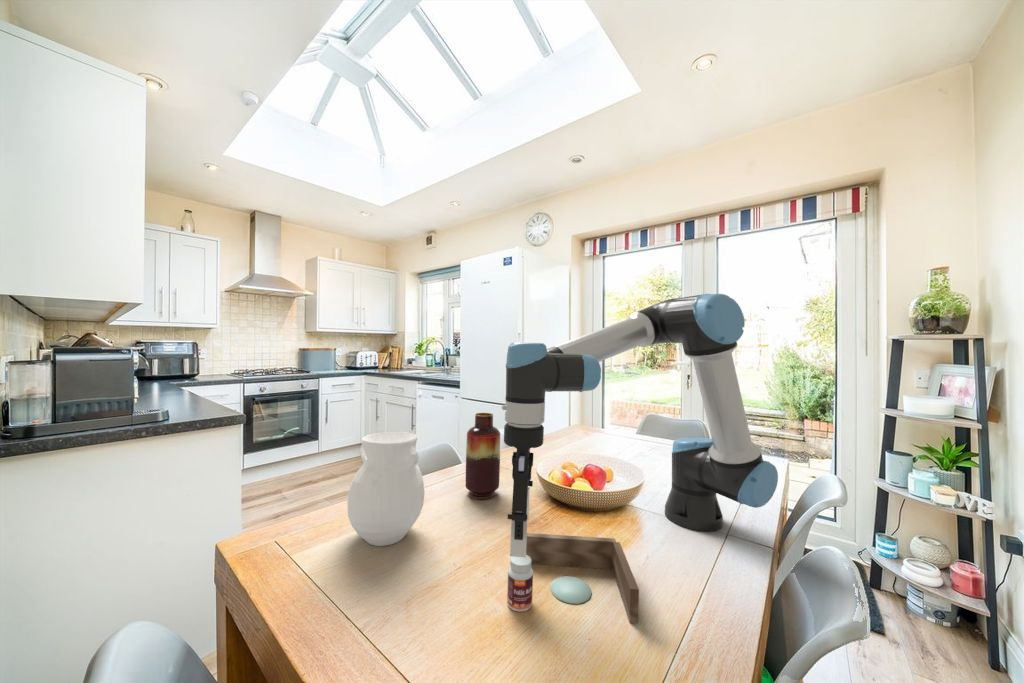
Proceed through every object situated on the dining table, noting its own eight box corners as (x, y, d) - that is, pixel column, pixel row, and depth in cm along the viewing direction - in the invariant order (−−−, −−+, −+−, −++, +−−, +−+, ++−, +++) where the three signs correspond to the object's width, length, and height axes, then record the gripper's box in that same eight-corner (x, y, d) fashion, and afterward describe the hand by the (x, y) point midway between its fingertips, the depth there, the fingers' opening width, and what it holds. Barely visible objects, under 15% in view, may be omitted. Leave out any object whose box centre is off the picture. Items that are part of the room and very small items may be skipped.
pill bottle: (513, 615, 67) (514, 568, 68) (503, 598, 72) (504, 555, 72) (536, 608, 69) (537, 563, 69) (525, 592, 74) (526, 550, 74)
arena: (617, 565, 84) (618, 538, 84) (638, 623, 66) (638, 589, 66) (525, 559, 85) (526, 532, 85) (521, 614, 68) (522, 581, 68)
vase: (505, 492, 123) (507, 413, 124) (485, 504, 114) (487, 419, 114) (478, 485, 129) (480, 410, 129) (457, 495, 120) (460, 414, 120)
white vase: (438, 528, 99) (440, 433, 99) (387, 564, 82) (391, 450, 82) (384, 513, 106) (386, 425, 107) (328, 543, 90) (331, 439, 90)
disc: (588, 579, 78) (588, 577, 78) (593, 605, 71) (593, 604, 71) (550, 576, 79) (550, 575, 79) (551, 602, 71) (551, 600, 71)
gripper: (509, 411, 84) (506, 506, 83) (497, 438, 59) (492, 573, 58) (543, 412, 83) (540, 508, 83) (544, 440, 58) (540, 577, 58)
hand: (520, 535), depth 71 cm, fingers open, 13 cm apart
